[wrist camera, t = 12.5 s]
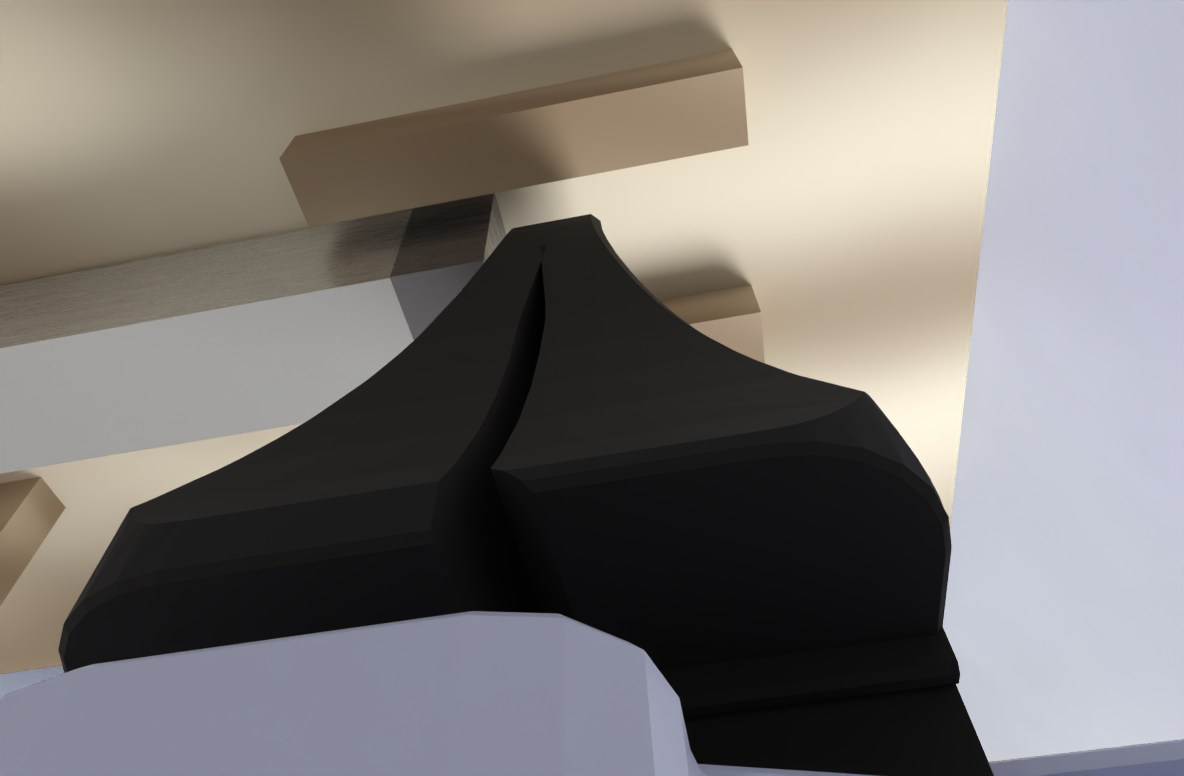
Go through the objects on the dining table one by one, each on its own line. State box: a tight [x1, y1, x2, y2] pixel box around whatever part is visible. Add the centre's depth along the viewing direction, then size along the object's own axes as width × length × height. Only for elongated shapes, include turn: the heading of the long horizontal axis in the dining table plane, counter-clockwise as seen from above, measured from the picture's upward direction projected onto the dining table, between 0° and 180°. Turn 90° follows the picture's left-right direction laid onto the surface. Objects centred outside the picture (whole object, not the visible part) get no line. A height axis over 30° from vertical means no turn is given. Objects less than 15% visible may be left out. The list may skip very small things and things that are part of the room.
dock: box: [0, 0, 1008, 674], centre depth 13 cm, size 14×26×4 cm, turn 101°
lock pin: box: [0, 193, 506, 474], centre depth 12 cm, size 2×11×2 cm, turn 100°
